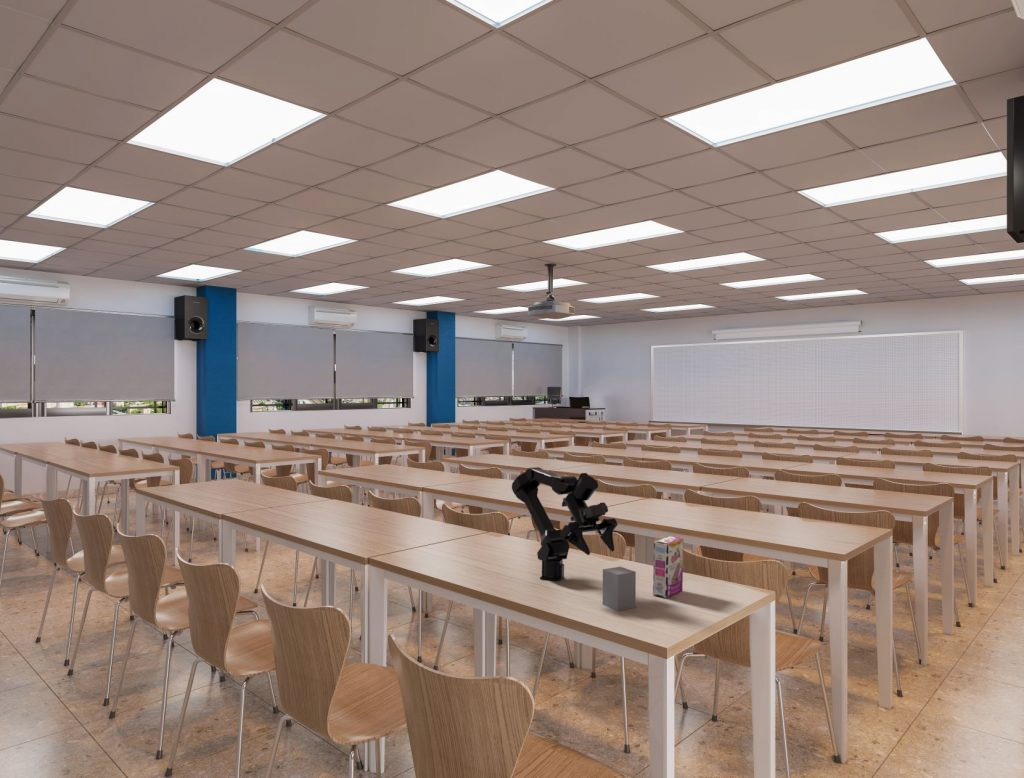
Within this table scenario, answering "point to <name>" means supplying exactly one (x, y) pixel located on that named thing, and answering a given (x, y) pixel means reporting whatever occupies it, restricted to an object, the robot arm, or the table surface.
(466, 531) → the table surface
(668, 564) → the candy bar box
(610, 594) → the grey upright block
